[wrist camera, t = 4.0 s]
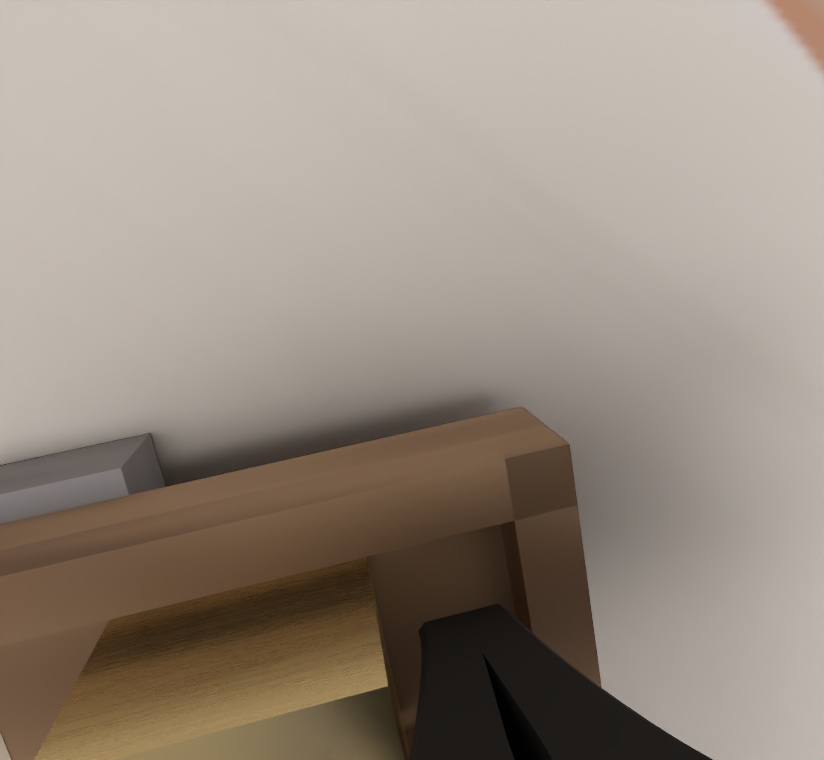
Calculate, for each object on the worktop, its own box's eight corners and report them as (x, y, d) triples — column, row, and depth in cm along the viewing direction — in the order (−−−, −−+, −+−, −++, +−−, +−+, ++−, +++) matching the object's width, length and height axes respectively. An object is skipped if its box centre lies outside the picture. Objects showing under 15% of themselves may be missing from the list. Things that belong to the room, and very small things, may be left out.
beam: (533, 645, 15) (615, 795, 11) (-246, 854, 13) (-494, 1125, 9) (488, 360, 13) (565, 411, 9) (-409, 553, 12) (-798, 722, 8)
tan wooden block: (401, 716, 11) (436, 901, 8) (168, 780, 11) (108, 1002, 8) (365, 552, 10) (388, 685, 7) (112, 613, 10) (21, 784, 7)
